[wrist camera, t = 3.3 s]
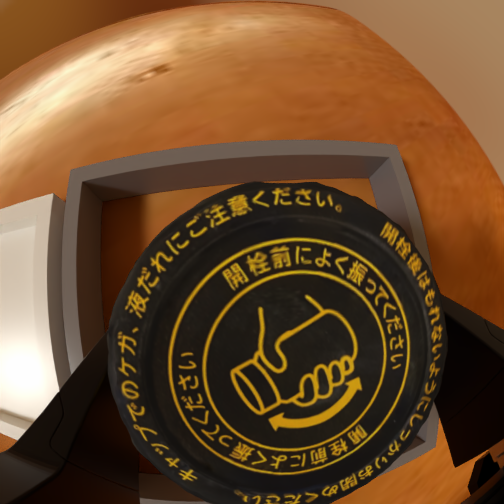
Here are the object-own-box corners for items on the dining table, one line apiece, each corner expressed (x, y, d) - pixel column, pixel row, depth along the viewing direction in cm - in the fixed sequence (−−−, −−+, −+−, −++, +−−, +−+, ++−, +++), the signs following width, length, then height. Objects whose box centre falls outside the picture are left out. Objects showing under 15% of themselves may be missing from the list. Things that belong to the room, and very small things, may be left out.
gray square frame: (411, 434, 13) (435, 446, 11) (128, 481, 11) (114, 504, 8) (376, 166, 18) (396, 145, 15) (91, 190, 15) (70, 169, 12)
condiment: (216, 245, 15) (188, 74, 4) (348, 302, 15) (531, 269, 4) (164, 361, 14) (21, 457, 2) (300, 414, 14) (415, 547, 2)
